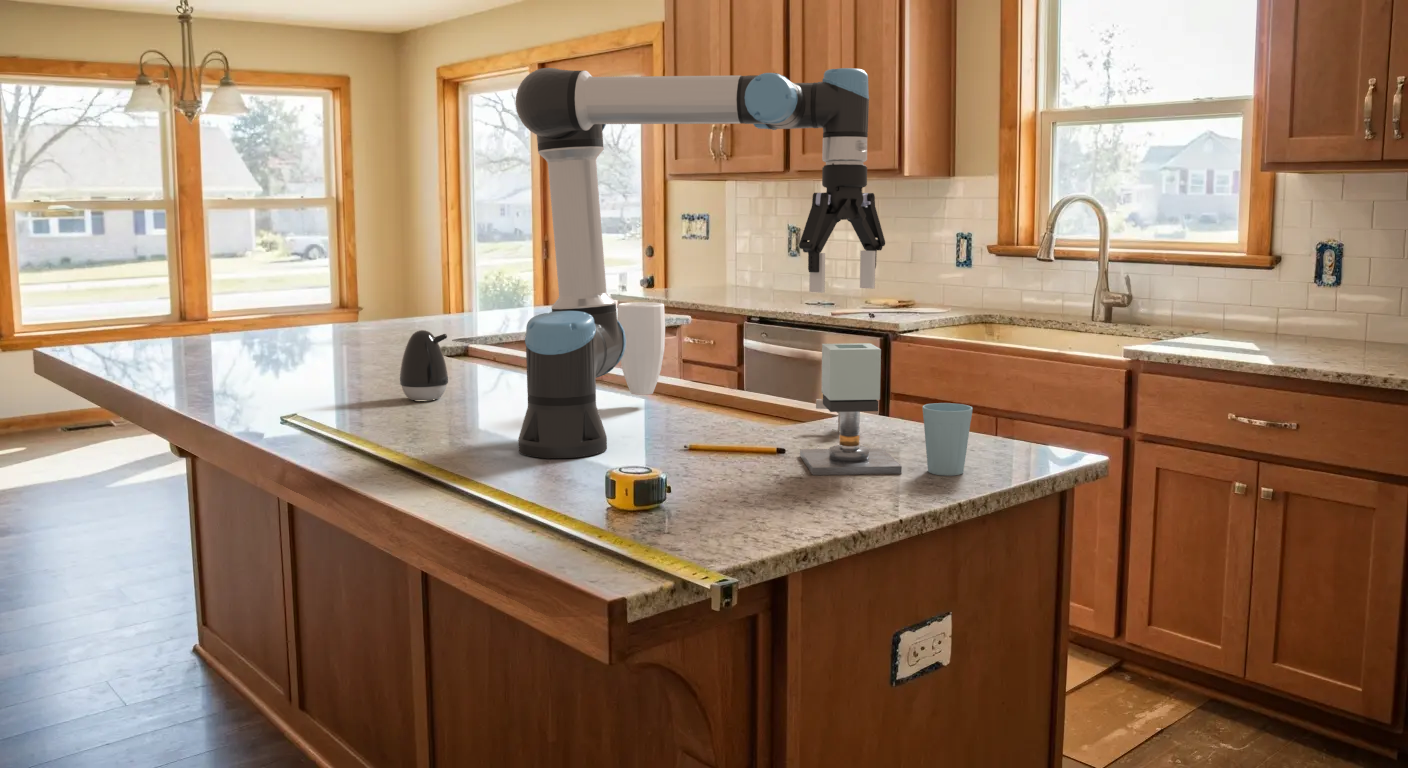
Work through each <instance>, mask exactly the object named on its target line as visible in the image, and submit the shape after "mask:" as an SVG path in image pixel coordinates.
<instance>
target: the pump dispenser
mask: <svg viewBox="0 0 1408 768" xmlns="http://www.w3.org/2000/svg"><path fill="white" fill-rule="evenodd" d="M447 338H448V335H447V333H443V334H440V335H438V336H434V335H433V334H432V332H430V331H428V330H426V329H421V330H420V329H419V330H417V331H415V332H414V333H412V335H411V336H410V337H409V339H408V341H407V344H406V346H405V349H404V352H403V355H402V360H401V366H400V372H399V384H400V386H401V388H402V391H403V393H404V395H405V396H406V397H407V398H408V399H410V400H412V401H413V400H433V399H437V400H439V399H440V398H441V397H443V395H444V394H445V392H446V390H447V384H449V376H448V375H449V374H448V369H447V365H446V364H447V363H446V359H445V357H444V354H443V352H442V351H443V350H442V349H441V347H440V346H441V345H440V344H439V343H440V342H442V341H444V340H445V339H447Z"/></svg>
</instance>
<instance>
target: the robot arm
mask: <svg viewBox="0 0 1408 768" xmlns="http://www.w3.org/2000/svg"><path fill="white" fill-rule="evenodd" d="M515 95H516V96H515V109H516V112H517V115H518V118H519V120H520V122H521V123H522V125H523V126H524V127H525V128H526V129H527V130H529V132H531V133H533V134H534V135H536V143H537V153H538V155H539V156H540V157H541V158H543V159H544V160H545V161H546V163H547V166H548V167H547V168H548V169H547V170H548V180H549V181H548V183H549V191H550V207H551V217H552V218H551V219H552V229H553V239H554V251H555V252H554V253H555V263H556V273H557V274H556V276H557V284H558V285H557V287H558V298H557V299H556V301H555V302H554V303H553V305H552V306H551V311H550V312H549V313H548V312H544V313H540V314H538V315H535V316H533V317H531V318H530V319H529V320H528V322H527V324H526V326H525V327H526V328H525V331H526V333H525V338H524V342H525V354H526V356H525V357H526V358H525V360H526V383H527V384H526V387H527V389H526V390H527V392H526V393H527V408H526V411H525V414H524V415H525V416H524V417H523V418H524V419H523V422H522V426H521V428H520V432H519V436H518V440H517V441H518V452H519V453H520V454H521V453H522V455H524V456H527V455H528V457H532V458H533V457H534V458H541V459H573V458H585V457H589V456H595V455H598V454H602V453H604V452H605V451H607V449H608V440H607V439H608V438H607V433H606V431H605V428H604V425H603V422H602V418H601V416H600V412H599V410H598V406H597V400H596V399H597V396H596V395H597V386H596V383H597V382H596V380H597V379H596V378H600V377H602V376H605V375H607V374H608V373H610V372H611V371H612V370H613V369H614V368H615V367H616V366H618V364H619V363H621V359H622V357H623V354H624V352H625V348H626V336H625V332H624V329H623V327H622V325H621V324H620V322H619V321H618V320H617V316H618V311H617V302H616V300H615V299H613V298H612V297H611V296H610V295H609V294H608V292H607V281H606V280H607V279H606V270H605V269H606V266H605V255H604V254H605V253H604V245H603V243H604V242H603V231H602V220H601V219H602V218H601V205H600V194H599V193H600V192H599V182H598V180H599V179H598V168H597V159H598V157H599V156H600V154H601V153H602V152H603V150H605V149H604V147H605V146H604V134H603V131H604V130H605V127H606V125H681V124H682V125H692V124H693V125H694V124H696V125H698V124H699V125H700V124H703V125H705V124H706V125H709V124H710V125H711V124H713V125H714V124H715V125H716V124H717V125H718V124H719V125H721V124H734V125H736V124H740V125H741V124H744V125H753V126H754V127H755V128H756V129H764V130H772V131H776V130H783V129H784V130H789V129H790V130H791V129H792V130H793V129H812V128H813V129H822V147H821V148H822V152H821V153H822V156H821V157H822V160H821V161H822V162H824V163H825V165H823V167H822V168H821V171H822V173H821V175H822V177H821V179H822V180H821V184H822V187H824V188H826V190H825V191H826V192H814V193H812V200H811V208H810V211H809V213H808V216H807V220H806V222H805V226H804V228H803V232H802V235H801V238H800V240H799V243H798V247H799V249H800V250H802V252H803V253H807V254H808V256H807V257H808V258H807V259H808V260H807V261H808V262H807V263H808V265H807V269H808V272H809V281H808V283H809V285H808V287H809V288H808V289H809V291H808V292H809V293H821V294H823V293H824V294H825V291H826V290H825V289H826V287H825V286H826V253H825V252H822V251H823V249H824V248H825V246H826V243H827V241H828V240H829V238H830V237H831V234H832V233H833V231H834V229H835V227H836V225H837V223H839V222H841V221H843V220H844V221H845V220H847V221H848V222H849V223H850V224H851V225H852V227H853V229H854V231H855V233H856V235H857V237H858V239H859V241H860V243H861V246H862V248H863V250H860V254H859V255H860V256H859V258H860V259H859V261H860V262H859V263H860V264H859V289H869V290H871V289H875V288H876V268H877V253H878V251H882V249H883V247H885V245H886V240H885V236H884V233H883V229H882V225H881V222H880V218H879V215H878V211H877V207H876V200H875V199H876V198H875V197H876V196H875V194H874V192H863V188H865V187H867V185H868V167H867V165H866V164H864V163H865V162H867V161H868V138H869V137H868V135H869V134H868V133H869V110H870V109H869V107H870V106H869V105H870V94H869V75H868V73H867V72H866V71H865V70H864V69H861V68H852V67H850V68H849V67H844V68H843V67H842V68H841V67H840V68H831V69H826V70H825V71H824V73H823V78H822V81H818V82H792V81H790V80H789V78H788V77H786V76H785V75H783V74H780V73H777V72H763V73H761V74H758V75H754V74H751V75H664V76H663V75H658V76H657V75H655V76H653V75H650V76H642V75H641V76H593V75H591V74H590V72H589V71H588V70H573V69H572V70H568V69H560V68H555V67H544V68H543V67H542V68H539V69H536V70H533V71H532V72H530V73H529V74H527V75H526V76H525V78H523V80H522V81H521V83H520V84H519V86H518V88H517V91H516V94H515Z"/></svg>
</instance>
